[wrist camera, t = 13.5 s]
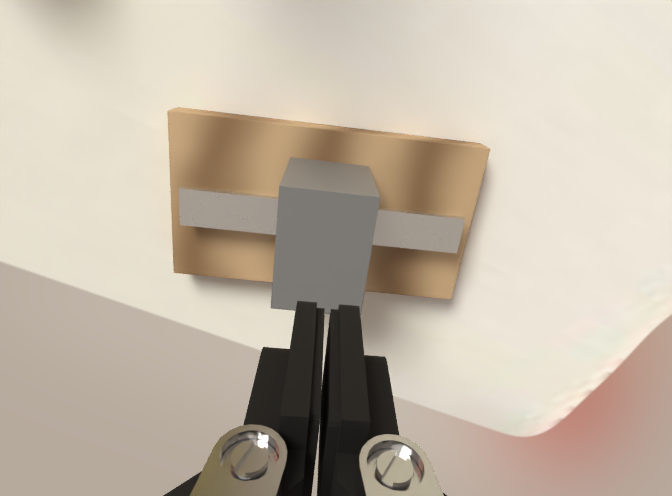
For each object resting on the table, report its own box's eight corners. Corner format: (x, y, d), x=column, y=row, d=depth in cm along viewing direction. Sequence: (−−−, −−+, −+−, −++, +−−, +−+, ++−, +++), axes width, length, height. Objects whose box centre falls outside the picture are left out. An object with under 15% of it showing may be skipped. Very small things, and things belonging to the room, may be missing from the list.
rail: (458, 211, 29) (465, 219, 27) (450, 244, 30) (456, 253, 28) (186, 181, 28) (178, 188, 26) (186, 216, 29) (179, 224, 27)
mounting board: (479, 143, 29) (490, 149, 27) (444, 286, 33) (451, 299, 31) (178, 107, 28) (167, 110, 26) (182, 260, 32) (173, 272, 30)
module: (368, 166, 27) (380, 197, 21) (352, 271, 30) (358, 325, 24) (290, 156, 27) (279, 186, 21) (281, 264, 30) (270, 317, 24)
